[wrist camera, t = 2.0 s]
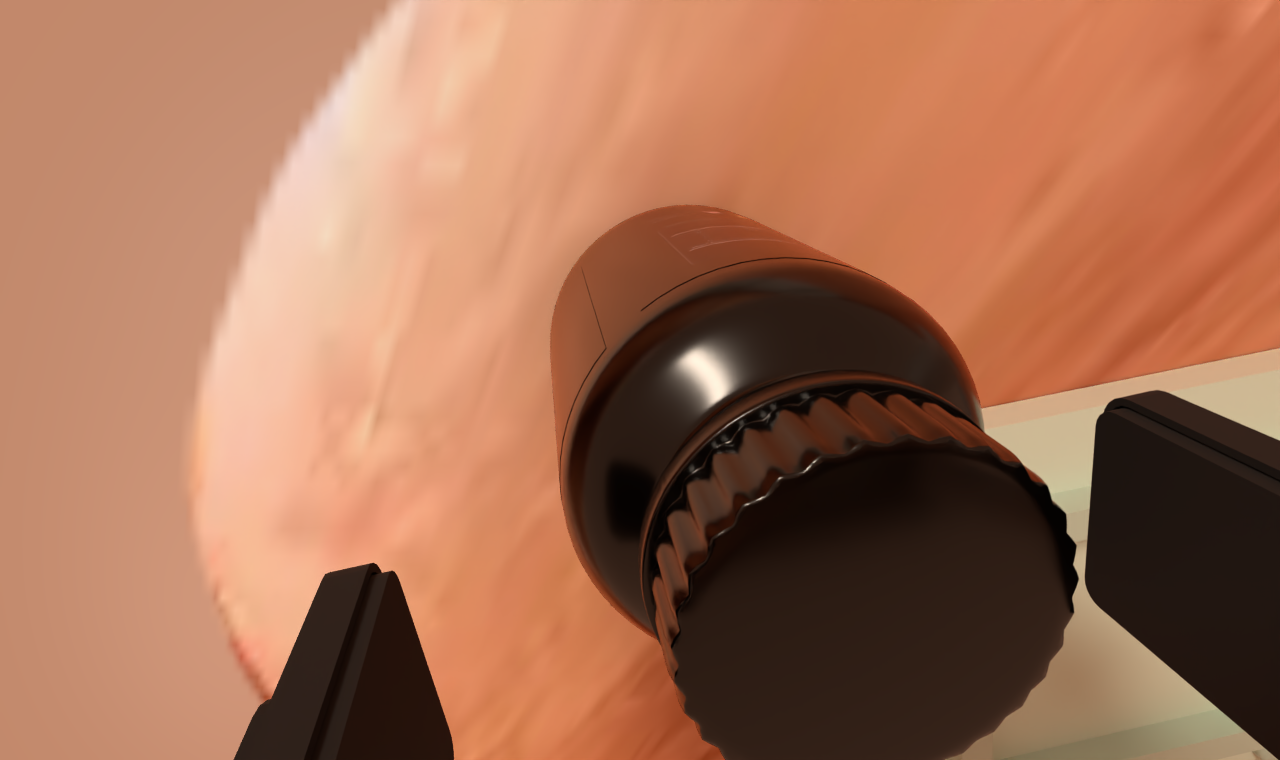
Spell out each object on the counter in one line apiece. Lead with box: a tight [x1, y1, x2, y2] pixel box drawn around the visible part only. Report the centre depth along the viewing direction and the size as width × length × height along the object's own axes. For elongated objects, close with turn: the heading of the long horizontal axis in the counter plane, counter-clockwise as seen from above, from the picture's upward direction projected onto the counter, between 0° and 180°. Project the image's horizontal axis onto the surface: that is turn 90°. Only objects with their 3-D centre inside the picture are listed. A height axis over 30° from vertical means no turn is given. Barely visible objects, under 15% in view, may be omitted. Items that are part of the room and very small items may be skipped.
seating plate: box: [945, 348, 1280, 760], centre depth 23 cm, size 16×16×2 cm
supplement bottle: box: [550, 205, 1079, 760], centre depth 14 cm, size 7×7×12 cm
